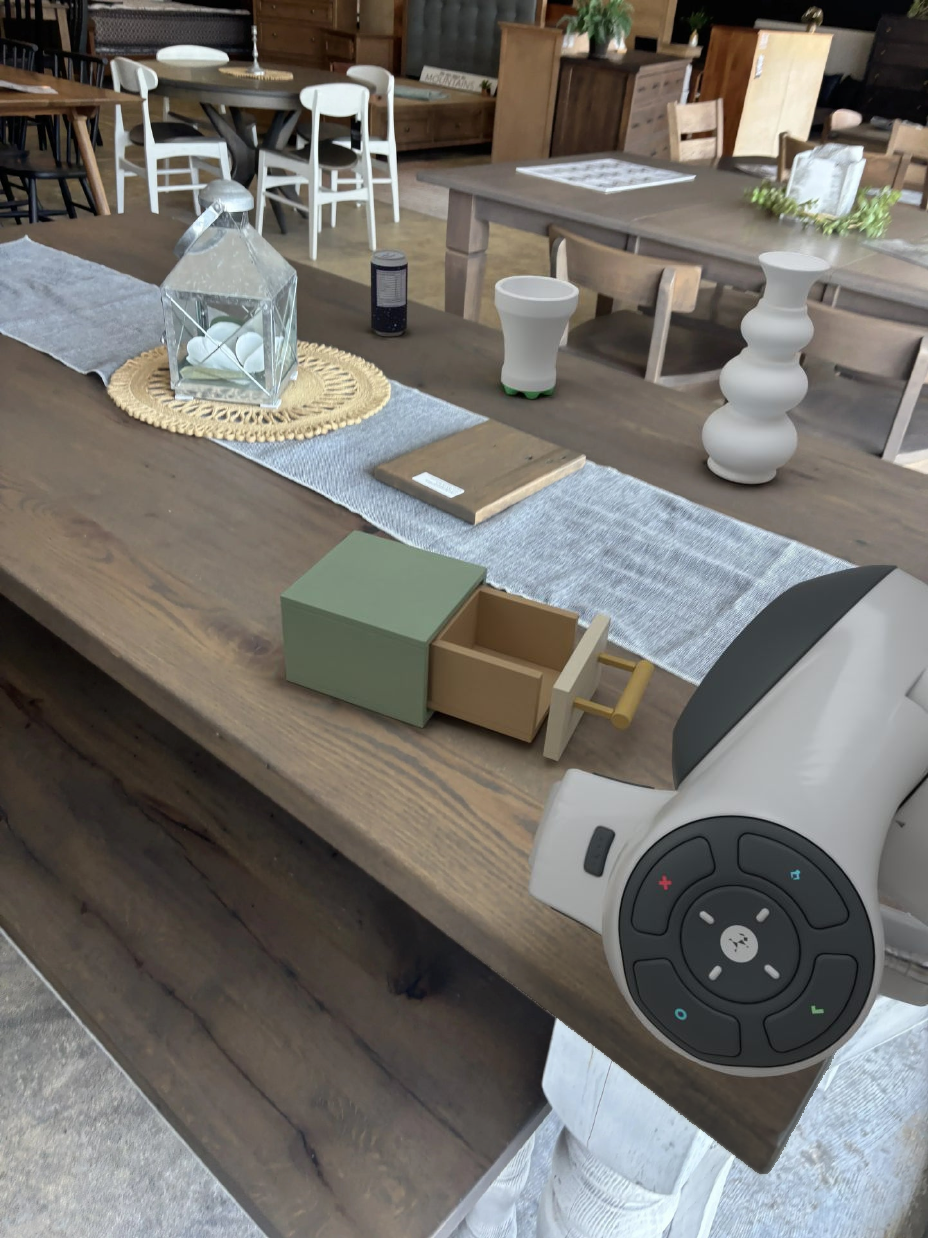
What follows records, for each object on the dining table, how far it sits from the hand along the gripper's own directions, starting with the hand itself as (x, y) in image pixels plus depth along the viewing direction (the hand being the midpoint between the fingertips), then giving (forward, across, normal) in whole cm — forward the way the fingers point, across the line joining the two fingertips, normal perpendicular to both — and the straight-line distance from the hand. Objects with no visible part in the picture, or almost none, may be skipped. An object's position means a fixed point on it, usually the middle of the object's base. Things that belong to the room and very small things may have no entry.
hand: (722, 878), depth 53 cm
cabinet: (+14, +30, -6) cm, 34 cm away
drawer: (+13, +17, -7) cm, 22 cm away
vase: (+52, +10, -44) cm, 68 cm away
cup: (+59, +42, -52) cm, 89 cm away
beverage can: (+67, +70, -59) cm, 114 cm away
